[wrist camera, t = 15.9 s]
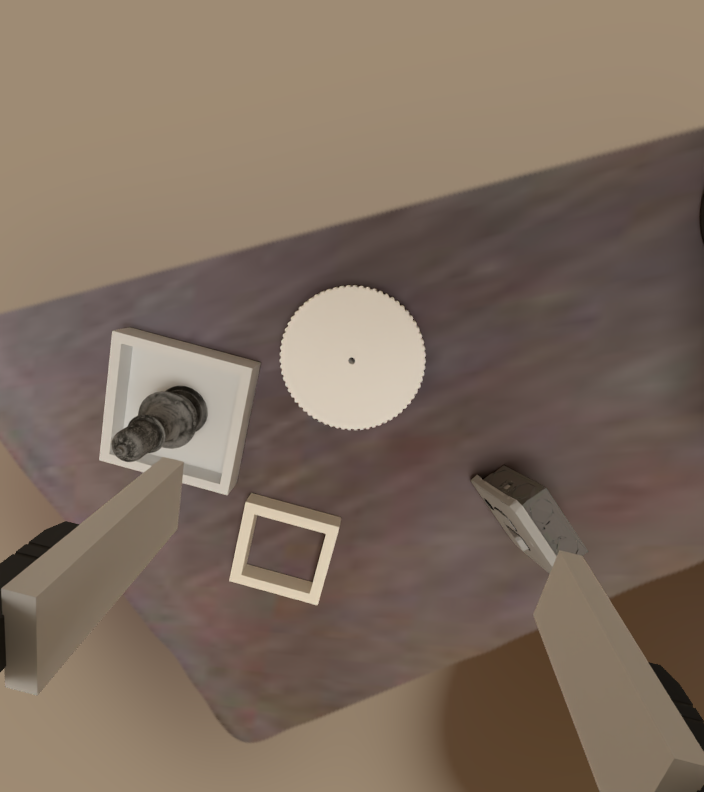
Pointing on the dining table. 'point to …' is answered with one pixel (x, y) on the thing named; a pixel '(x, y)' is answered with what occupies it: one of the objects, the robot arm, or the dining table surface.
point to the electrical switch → (529, 516)
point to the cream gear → (352, 338)
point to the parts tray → (193, 367)
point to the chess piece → (161, 423)
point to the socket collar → (276, 580)
